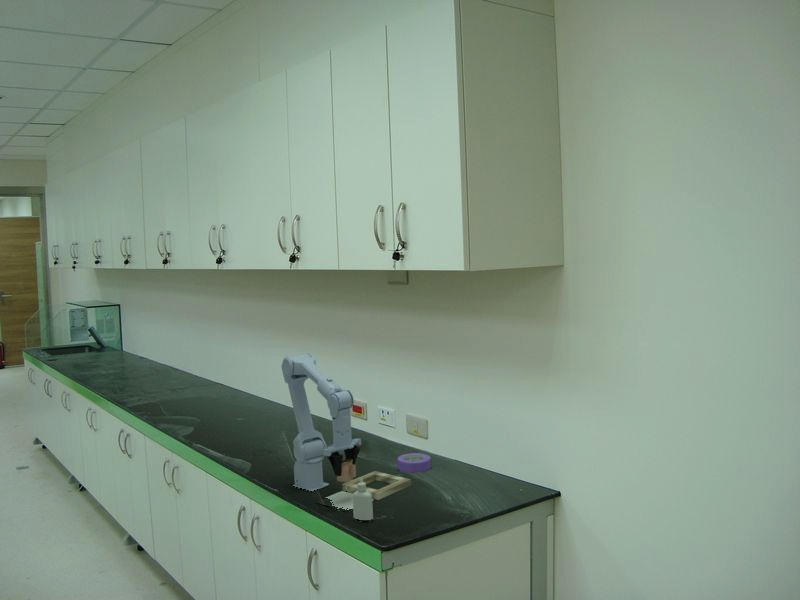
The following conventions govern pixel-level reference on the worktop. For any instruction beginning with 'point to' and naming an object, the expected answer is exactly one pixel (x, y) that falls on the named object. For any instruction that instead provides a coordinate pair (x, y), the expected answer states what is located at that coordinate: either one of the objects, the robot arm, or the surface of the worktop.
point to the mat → (342, 500)
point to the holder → (394, 481)
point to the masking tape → (414, 462)
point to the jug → (347, 470)
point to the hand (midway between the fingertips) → (344, 473)
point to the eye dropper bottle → (362, 503)
